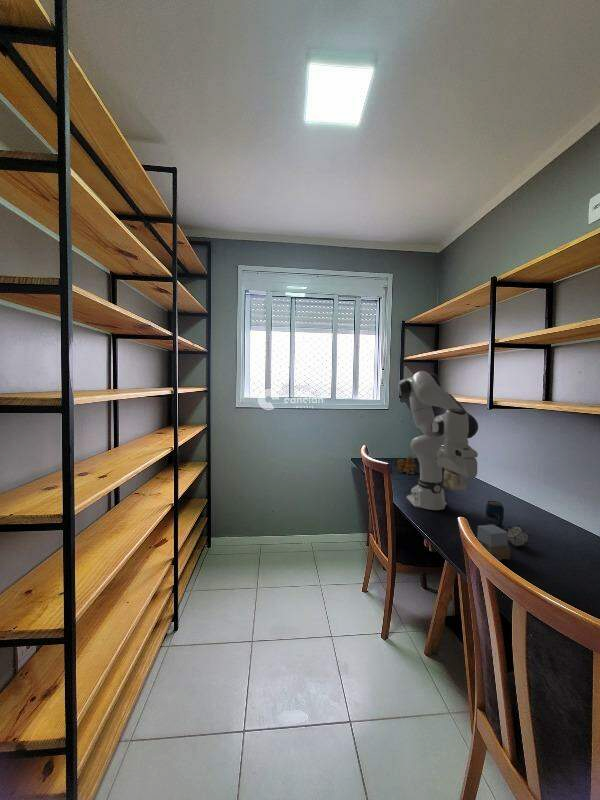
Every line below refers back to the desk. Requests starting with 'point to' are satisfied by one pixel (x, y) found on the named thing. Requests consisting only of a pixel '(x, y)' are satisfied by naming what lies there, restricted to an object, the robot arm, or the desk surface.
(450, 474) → the maple block
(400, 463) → the stuffed squirrel
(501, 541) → the slate block
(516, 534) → the game die
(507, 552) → the walnut plinth
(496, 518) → the soda can
